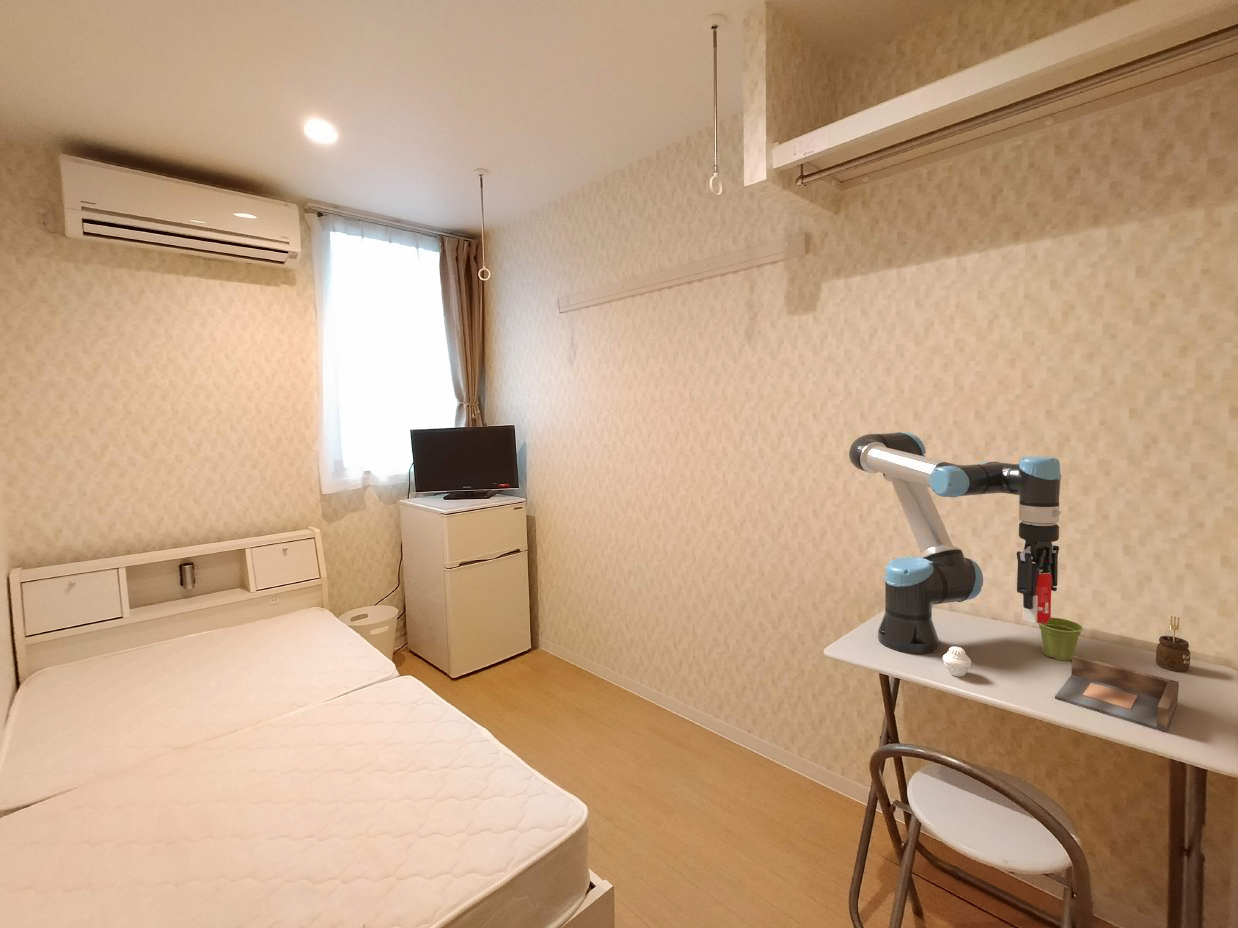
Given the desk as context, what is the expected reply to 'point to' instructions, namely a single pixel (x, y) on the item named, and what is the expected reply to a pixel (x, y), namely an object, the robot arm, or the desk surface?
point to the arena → (1121, 693)
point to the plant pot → (1060, 638)
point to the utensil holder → (1173, 651)
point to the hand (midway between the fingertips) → (1036, 618)
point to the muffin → (956, 661)
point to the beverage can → (1043, 596)
